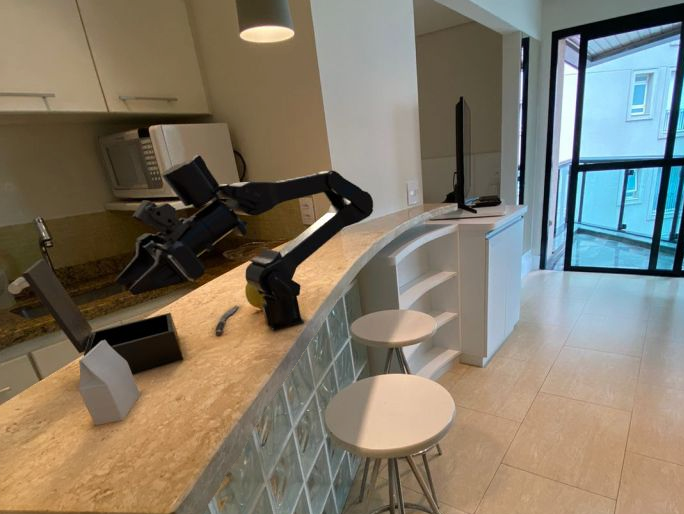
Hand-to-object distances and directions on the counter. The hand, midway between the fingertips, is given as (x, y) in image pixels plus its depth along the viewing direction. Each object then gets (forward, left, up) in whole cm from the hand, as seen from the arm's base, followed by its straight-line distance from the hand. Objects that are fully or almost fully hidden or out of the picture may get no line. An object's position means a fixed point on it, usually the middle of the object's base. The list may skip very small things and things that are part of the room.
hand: (124, 287), depth 64 cm
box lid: (+10, -8, -2) cm, 13 cm away
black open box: (+2, -8, -16) cm, 18 cm away
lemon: (-23, -18, -16) cm, 33 cm away
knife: (-15, -17, -16) cm, 28 cm away
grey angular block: (+5, +9, -16) cm, 19 cm away
